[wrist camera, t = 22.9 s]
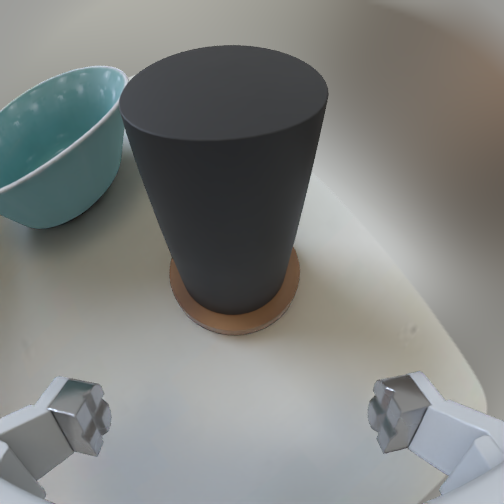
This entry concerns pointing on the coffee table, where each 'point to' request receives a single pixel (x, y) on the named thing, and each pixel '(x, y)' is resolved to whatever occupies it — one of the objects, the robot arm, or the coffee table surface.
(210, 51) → the tapered grey cylinder
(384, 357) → the coffee table surface
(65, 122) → the bowl
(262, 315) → the trivet
